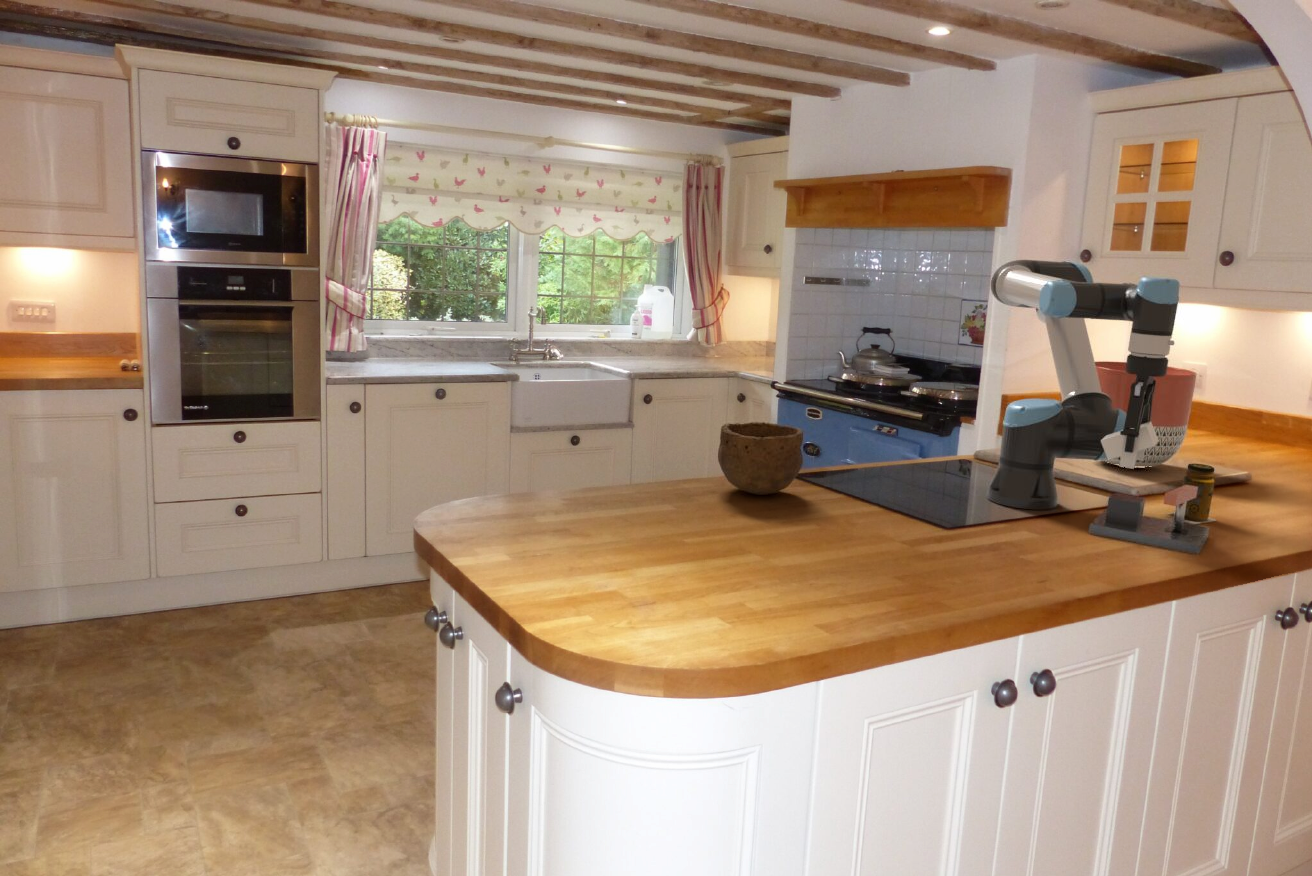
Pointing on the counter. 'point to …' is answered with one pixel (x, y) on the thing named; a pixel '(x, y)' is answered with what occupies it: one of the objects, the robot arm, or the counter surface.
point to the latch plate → (1145, 526)
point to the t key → (1180, 503)
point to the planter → (1154, 406)
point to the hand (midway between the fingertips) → (1131, 463)
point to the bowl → (760, 456)
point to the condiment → (1198, 493)
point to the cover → (1115, 440)
